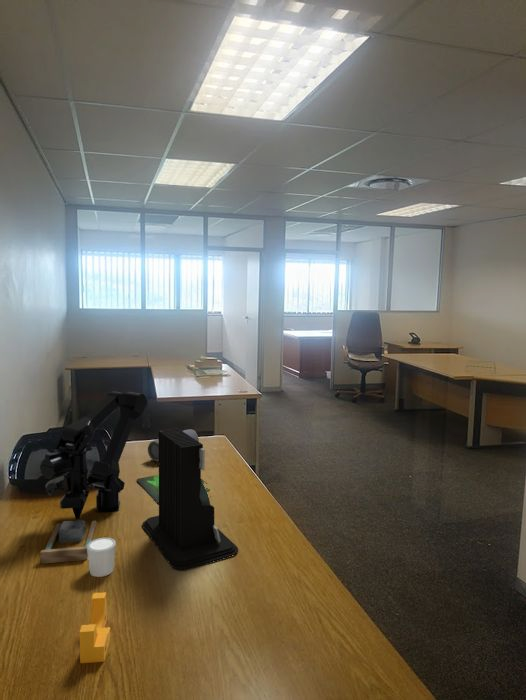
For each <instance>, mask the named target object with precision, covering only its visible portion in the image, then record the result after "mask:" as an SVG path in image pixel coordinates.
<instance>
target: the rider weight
mask: <svg viewBox="0 0 526 700" xmlns="http://www.w3.org/2000/svg"><path fill="white" fill-rule="evenodd" d="M86 532H87V531H86V520H85V519H83V520H67V521H66V520H63V521H62V523H61V527H60V529H59V534H58V537H59V539H58V543H60V544H64V543H65V544H66V543H80V542H83V540H84V539H85V536H86Z"/></svg>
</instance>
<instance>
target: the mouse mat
mask: <svg viewBox="0 0 526 700" xmlns="http://www.w3.org/2000/svg"><path fill="white" fill-rule="evenodd" d="M201 481H202V483H203V484H204V482H205V483H206V484H208V483H207V482H206V481H204V480H203V479H202V478H201ZM136 482H137V483H138V484H139V485H140V486H141V488H142V489H143V490H144V491H145V492H146V493H147V495H149V497H150V498H152V500H154V502H156V503H157V505H159V474H156V475H151V476H145V477H140V478H137V479H136ZM209 491H210V489H208V488H206V492H209Z"/></svg>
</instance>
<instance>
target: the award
mask: <svg viewBox="0 0 526 700" xmlns="http://www.w3.org/2000/svg"><path fill="white" fill-rule="evenodd" d="M183 431H184V430H181V428H179V427H177V428H171V429H162V430H158V439H159V461H158V475H159V504H158V515H155V516H151V517H148V518H147V519H146V520H144V521H142V524H141V526H142V528H143V530H144V531H145V532H146V533H147V535H148V536H149V538H150V539H151V540H152V542H153V543H154V545H155V546H156V547H157V548H158V550H159V551H160V553H161V554H162V555H163V557H164V558H165V560H166V562H168V564H169V565H170V567H171V568H172V569H174V570H175V571H188V570H190V569H194V568H198V567H202V566H205V565H208V564H211V563H210V562H212V563H214V562H213V561H215V562H218V561H217V560H219V561H221V560H220V559H222V560H224V559H223V558H226V559H228V558H227V557H229V556H232V555H235V554H236V553H237V552H238V553H239V548H238V546H237V545H236V544H235V543H234V542H233V541H232V540H231V539H229V537H227V536H226V535H225V534H224V532H222V531H221V530H220V528H218V526H216V525H215V506H213V505H212V504H211V501H210V497H208V494H207V492H206V489H205V487H204V485H203V483H202V481H201V479H202V471H205V466H206V465H205V464H206V463H205V458H206V453H205V452H206V450H205V449H204V444H203V443H201V442H200V440H199V441H198V442H197V440H195V439H194V438H192V437H190V436H189V435H187V434H185V432H183ZM238 553H237V554H238ZM237 554H236V555H237ZM236 555H235V556H236ZM229 558H230V557H229ZM207 563H208V564H207ZM204 564H205V565H204ZM201 565H202V566H201ZM197 566H198V567H197Z"/></svg>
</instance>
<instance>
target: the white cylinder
mask: <svg viewBox="0 0 526 700" xmlns="http://www.w3.org/2000/svg"><path fill="white" fill-rule="evenodd" d="M87 552H88V557H87V560H88V568H89V573H90V576H92V577H94V578H95V577H98V578H101V577H102V578H103V577H105V576H108V575H110V574H112V573H113V571H114V567H115V555H116V540H115V539H113V538H112V537H100V538H94V539H93V540H92V541H91V542H89V543H88V544H87Z"/></svg>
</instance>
